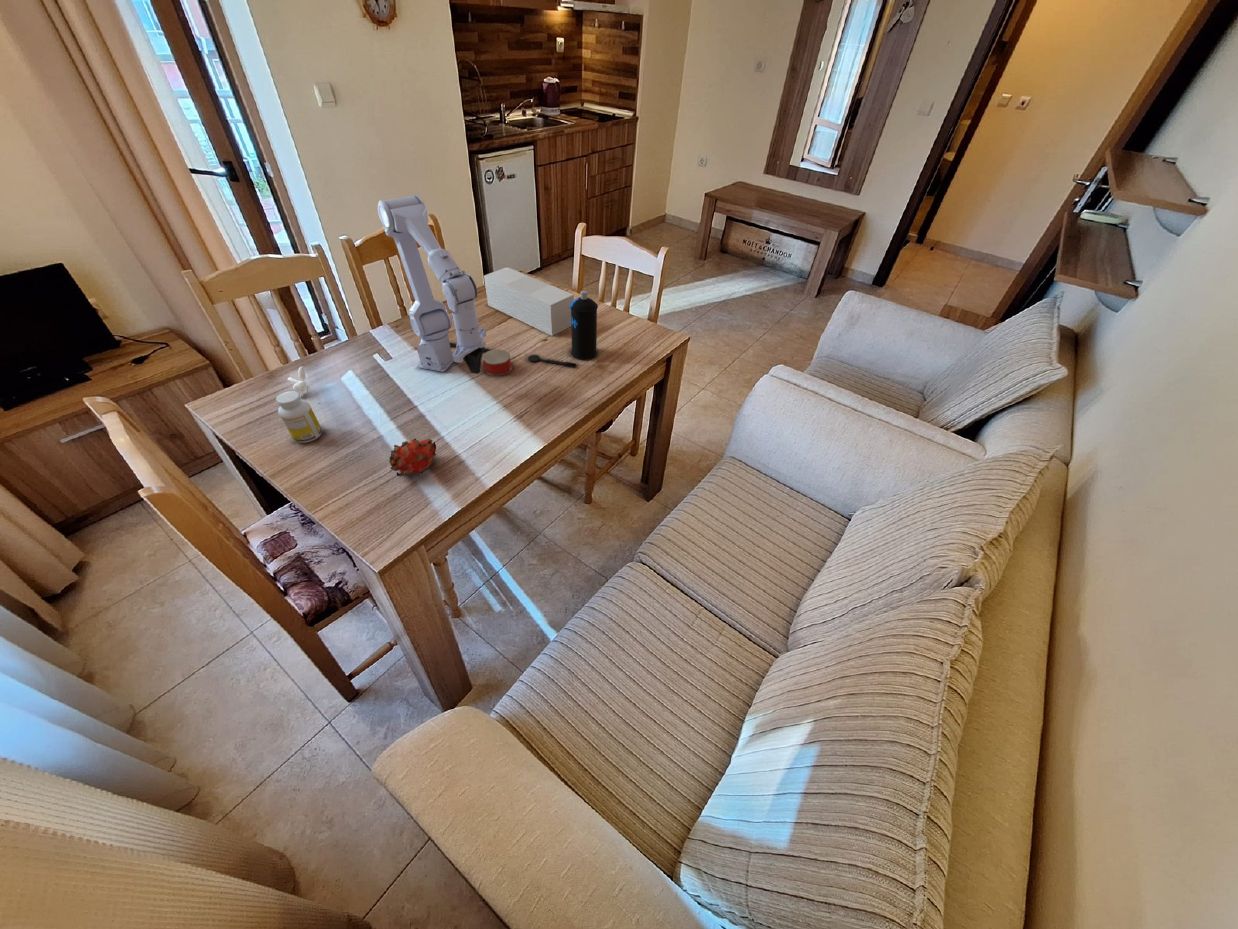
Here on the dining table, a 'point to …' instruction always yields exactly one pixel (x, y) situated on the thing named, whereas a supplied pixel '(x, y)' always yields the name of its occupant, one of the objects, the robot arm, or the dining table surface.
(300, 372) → the rabbit figurine
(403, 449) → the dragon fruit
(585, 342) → the aerosol can
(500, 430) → the dining table surface
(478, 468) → the dining table surface
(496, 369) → the tin can
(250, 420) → the dining table surface
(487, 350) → the fork
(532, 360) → the spoon
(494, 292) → the long white block
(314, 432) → the pill bottle
